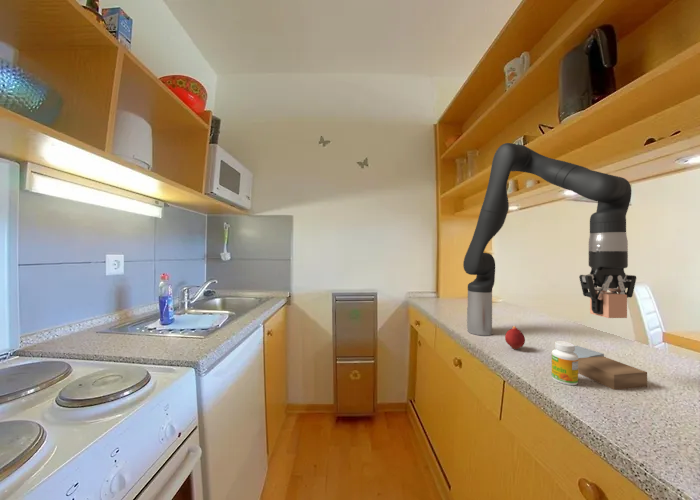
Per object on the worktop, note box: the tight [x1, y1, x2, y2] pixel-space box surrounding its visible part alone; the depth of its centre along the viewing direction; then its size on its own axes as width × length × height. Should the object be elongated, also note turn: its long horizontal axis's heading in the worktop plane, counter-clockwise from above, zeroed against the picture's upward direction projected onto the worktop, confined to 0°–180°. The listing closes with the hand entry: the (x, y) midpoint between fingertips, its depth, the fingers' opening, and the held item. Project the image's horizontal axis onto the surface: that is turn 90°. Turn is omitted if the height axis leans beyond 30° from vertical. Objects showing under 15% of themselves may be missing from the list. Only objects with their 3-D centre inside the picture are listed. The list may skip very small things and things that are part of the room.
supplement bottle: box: [551, 340, 579, 386], centre depth 69 cm, size 5×5×10 cm
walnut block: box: [578, 356, 648, 391], centre depth 70 cm, size 10×10×4 cm
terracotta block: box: [589, 291, 628, 319], centre depth 70 cm, size 5×5×6 cm
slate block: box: [573, 345, 605, 358], centre depth 80 cm, size 7×7×4 cm
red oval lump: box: [504, 325, 526, 350], centre depth 91 cm, size 6×6×8 cm
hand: (607, 313), depth 70 cm, fingers closed on terracotta block, 5 cm apart
